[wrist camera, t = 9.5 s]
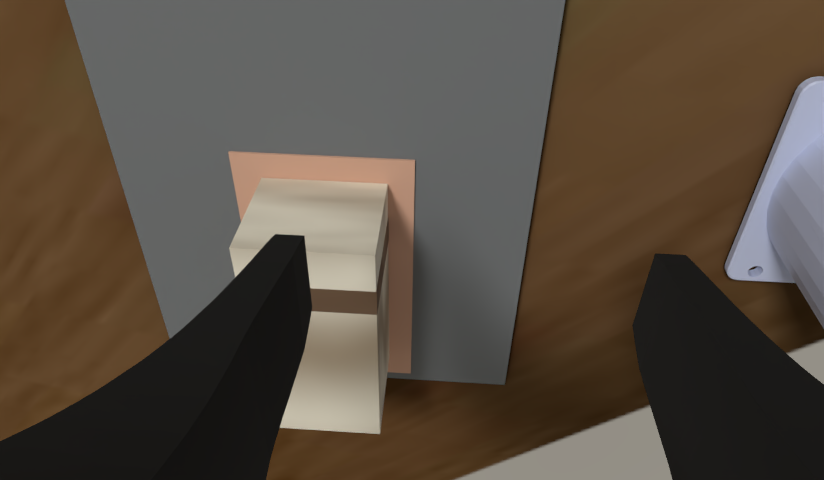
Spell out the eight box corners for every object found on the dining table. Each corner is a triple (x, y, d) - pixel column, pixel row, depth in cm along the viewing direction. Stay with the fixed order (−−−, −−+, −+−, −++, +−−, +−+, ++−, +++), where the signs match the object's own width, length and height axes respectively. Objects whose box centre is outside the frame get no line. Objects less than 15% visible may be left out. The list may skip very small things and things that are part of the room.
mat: (611, -317, 15) (616, -318, 14) (504, 377, 29) (504, 386, 29) (-27, -325, 15) (-40, -328, 15) (181, 358, 30) (177, 366, 30)
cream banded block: (390, 356, 28) (380, 434, 25) (287, 350, 28) (265, 427, 25) (388, 183, 23) (375, 256, 20) (261, 177, 23) (228, 248, 20)
